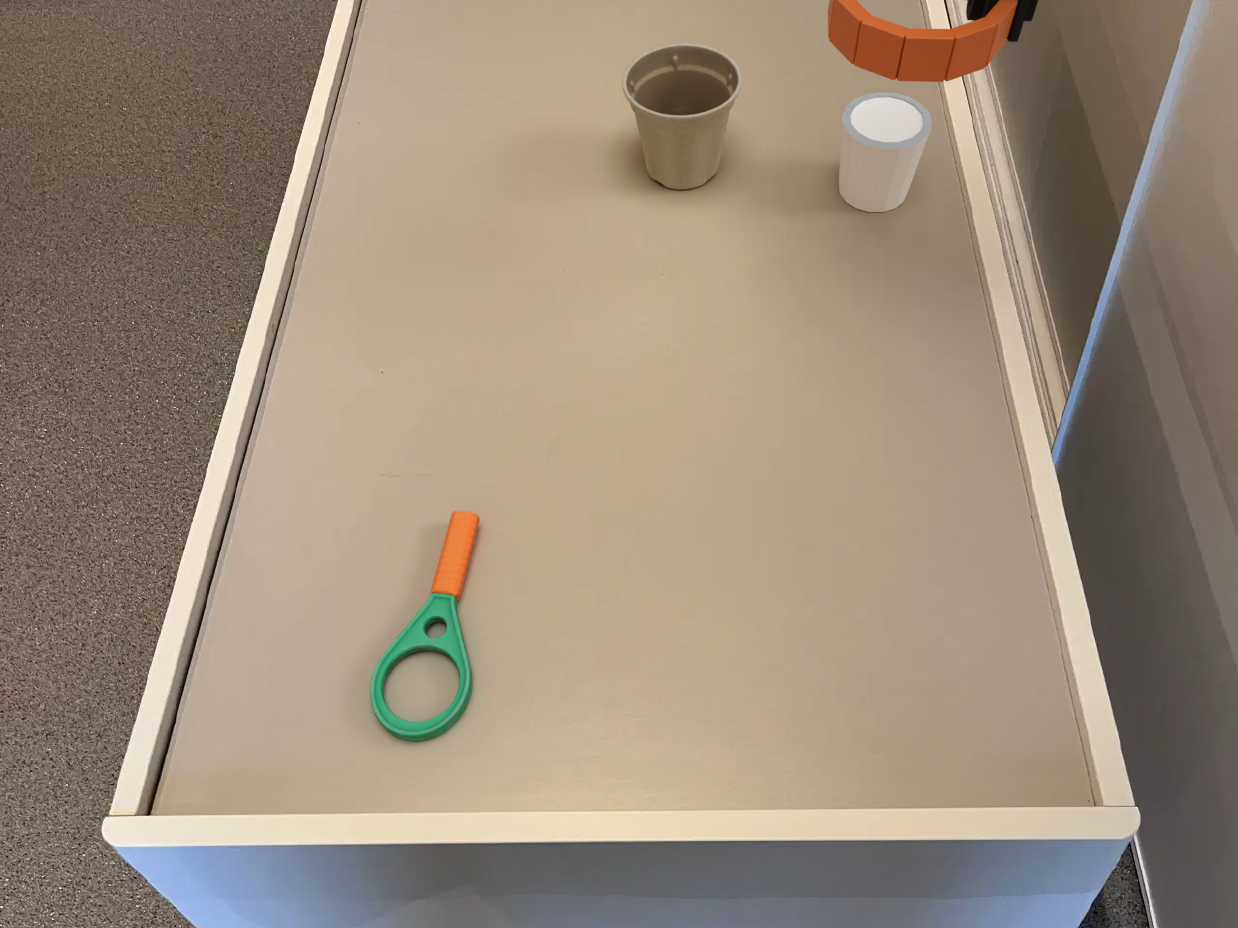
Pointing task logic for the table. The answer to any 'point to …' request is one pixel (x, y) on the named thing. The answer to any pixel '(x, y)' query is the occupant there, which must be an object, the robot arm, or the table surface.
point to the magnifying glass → (450, 643)
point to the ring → (917, 43)
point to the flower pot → (682, 109)
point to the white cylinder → (881, 149)
